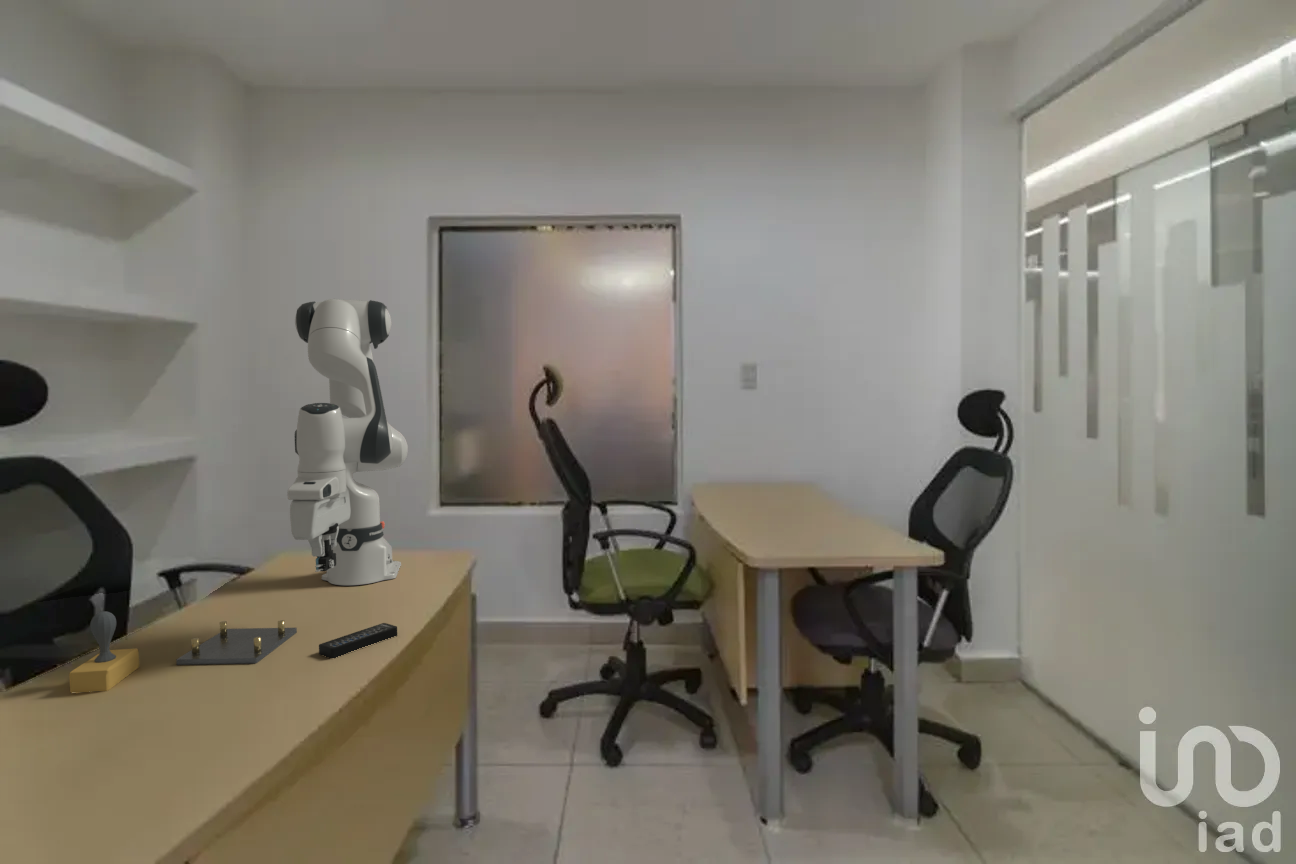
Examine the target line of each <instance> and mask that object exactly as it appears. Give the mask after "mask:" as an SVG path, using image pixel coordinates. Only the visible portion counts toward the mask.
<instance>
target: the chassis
mask: <svg viewBox="0 0 1296 864" xmlns="http://www.w3.org/2000/svg"><path fill="white" fill-rule="evenodd" d="M227 623H228V622H227V621H226V620H223V621H220V622H219V633H217V634H216V635H214V636H212V637H210V638H208V640H205V641H204V642H202V643H201V644H200V638H199V637H194V638H191V639H190V640H191V641H190V643H191V650H190V651H187V652H186V653H184V654H183V655H181V656H180V657H178V658H177V659H176V661H175V662H176V666H182V665H184V666H185V665H186V666H187V665H188V666H190V665H191V666H193V665H196V666H197V665H199V666H200V665H238V664H239V665H240V664H243V665H245V664H258V663H259V662H260V661H261V660H263V659H264V658H265V657H267V656H268V655H269V654H271V653H272V652H273V651H274V650H276V649H277V648H279V647H280V646H281V645H282V644H284V643H285V642H286V641H288V640H289V639H290V638H291V637H293V636H294V635H296V634H297V632H298V631H297V630H298V629H297V628H298V627H285V625H286V622H285V620H284V619H280V620H278V621H277V627H263V628H262V627H257V628H253V627H251V628H243V627H242V628H228V624H227Z"/></svg>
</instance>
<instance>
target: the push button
mask: <svg viewBox="0 0 1296 864" xmlns="http://www.w3.org/2000/svg"><path fill="white" fill-rule="evenodd" d="M333 524H334V523H333ZM337 526H338V523H336V524H335V525H333V526H330V527H329V530H328V531H327V532H325V533H323V534H322V539H321V543H322V546H324V554H323V555H321V556H316V558H315V566H314V567H315V571H314V572H327V570H328V569H330V568H333V567H334V566H336V553H333V550H331V539H330V535H333V534H334V533H335V532H336V531H337Z"/></svg>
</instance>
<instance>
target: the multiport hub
mask: <svg viewBox="0 0 1296 864" xmlns="http://www.w3.org/2000/svg"><path fill="white" fill-rule="evenodd" d="M394 636H396V637H398V626H396V625H394V624H389V623H387V622H382V623H378V624H376V625H373V626H370V627H366V628H364V629H361V630H359V631H354V632H353V633H349V634H346V635H343V636H339V637H337V638H335V639H331V640H328V641H325V642H322V643H319V644H318V653H319V654H320V655H319V654H318V655H319V656H321V655H324V656H326V657H325V658H327V657H329V658H328V659H330V658H334V659H337V658H339V657H338V656H340V657H342V656H341V655H343V656H345V655H344V654H346V653H348V652H351V651H354V650H357V649H359V648H362V647H365V646H368V645H371V644H374V643H376V644H378V643H377V642H379V641H382V640H385V639H387V640H389V639H388V638H390V639H392V638H391V637H393V638H395V637H394ZM385 641H386V640H385ZM382 642H383V641H382ZM379 643H380V642H379ZM374 645H375V644H374ZM371 646H372V645H371ZM368 647H369V646H368ZM365 648H366V647H365ZM362 649H363V648H362ZM357 651H358V650H357ZM354 652H355V651H354ZM351 653H352V652H351ZM348 654H349V653H348ZM346 655H347V654H346ZM324 656H323V657H324ZM336 657H337V658H336Z"/></svg>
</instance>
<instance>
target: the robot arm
mask: <svg viewBox="0 0 1296 864" xmlns="http://www.w3.org/2000/svg"><path fill="white" fill-rule="evenodd" d="M391 316H392V315H391V314H390V312H389V310H388V307H387V306H386V305H385V304H384V302H380V301H377V300H372V299H370V300H368V301H366V300H360V299H338V298H329V299H326V300H323V301H318V302H316V301H309V302H305V303H302V304H301V305H300V306H299V307H298V308H296V314H295V317H294V327H295V329H296V330H295V331H296V332H297V333H298V336H299V339H301V340H302V341H304V342H305V343H306V344H307V356H308V362H309V363H310V364H311V366H312V367H313V368H314V369H315V371H316V372H317V373H319V374H320V375H322V376H323V377H326V378H327V379H328V384H329V385H328V386H329V402H315V403H314V402H313V403H309V404H305V405H303V406H301V407H300V408H299V410H298V416H297V417H298V418H297V422H296V423H297V424H296V425H297V426H296V430H295V431H294V452H295V454H296V455H298V459H299V461H298V466H297V477H296V478H295V480H294V482H293V483H292V484H291V486H289V488H288V489H287V495H286V496H287V499H288V500H290V501H291V502H290V506H289V515H290V516H289V519H290V530H291V535H292V537H293V539H295V540H297V541H298V540H299V541H308V543H309V546H310V548H311V556H312V557H317V556H321V555H323V554H324V546H322V543H321V539H322V534H323V533H325V532H327V531H328V530H329V527H330V526H333V525H335V524H336V523H338V526H337V531H336V532H335V533H334V534H333V535H330V539H331V550H333V553H336V566H334V567H333V568H330V569H328V570H327V571H326V573H324V574H322V575H321V580H323V581H327V582H328V583H329V584H332V585H336V586H359V585H360V586H361V585H367V584H372V583H377V582H381V581H386V580H393V579H396V578H397V576H398V574H399V572H400V569H399V568H401V567H402V562H401V561H398V560H393V548H392V545H391V544H390V543H389V542H388V541H387V540H386V539H385V537H384V529H385V525H386V523H385V521H381V511H380V510H381V509H380V508H381V507H380V505H381V504H380V503H381V501H380V496H379V493H378V492H377V491H376V490H375V489H374V488H371V487H370V486H368V485H365V484H362V483H359V482H358V481H356V480H355V479H354V476H353V474H354V473H361V472H375V471H376V472H378V471H379V472H380V471H387V470H390V469H395V468H398V467H401V466H402V465H403V464H404V463H405V461H406V459H407V457H408V455H409V454H408V453H409V445H408V442H407V440H406V437H405V436H404V435H403V434H402V432H400V431H399V430H397V429H396V428H394V427H393V426H392V425H391V424H390V423H389V422H388V420H387V417H386V416H387V415H386V410H385V404H384V400H383V394H382V388H381V384H380V379H379V376H378V371H377V368H376V365H375V361H374V357H373V351H372V347H371V344H372V346H373V348H374V350H376V349H378V346H379V345H381V344H382V343H384V342H385V341H386V340H387V339H388V337H390V332H391V329H392V325H393V324H392V317H391ZM343 416H345V417H343ZM333 523H334V524H333ZM400 566H401V567H400ZM398 571H399V572H398Z"/></svg>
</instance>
